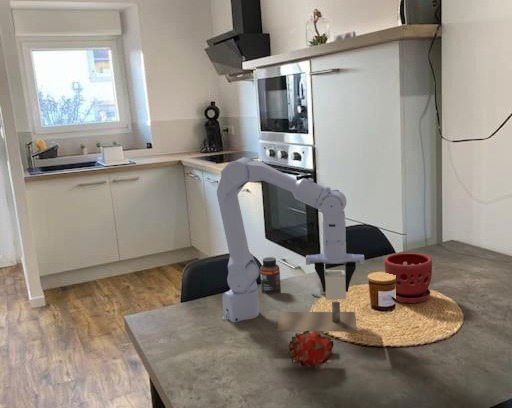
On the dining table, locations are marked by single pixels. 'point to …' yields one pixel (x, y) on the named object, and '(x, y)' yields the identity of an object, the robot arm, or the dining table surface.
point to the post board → (318, 320)
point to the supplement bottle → (270, 276)
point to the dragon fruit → (310, 348)
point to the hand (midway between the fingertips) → (335, 290)
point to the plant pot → (410, 276)
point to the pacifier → (320, 290)
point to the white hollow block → (335, 284)
